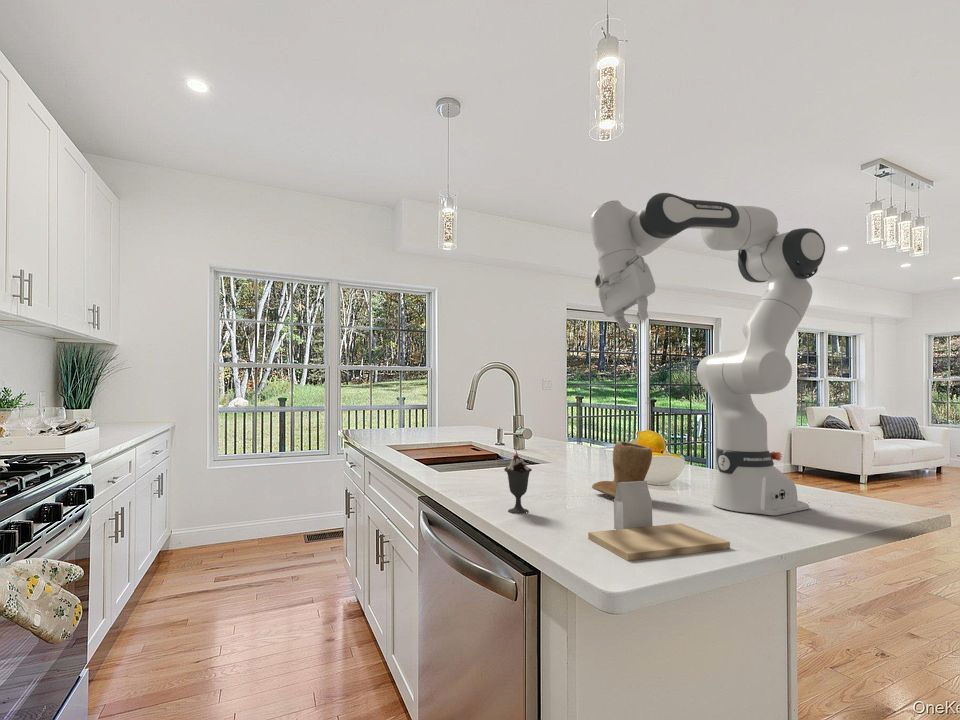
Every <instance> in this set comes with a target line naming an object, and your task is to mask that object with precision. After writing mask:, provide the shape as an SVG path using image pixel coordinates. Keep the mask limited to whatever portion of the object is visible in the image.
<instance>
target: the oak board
mask: <svg viewBox="0 0 960 720" xmlns="http://www.w3.org/2000/svg"><path fill="white" fill-rule="evenodd" d="M587 534H588V537H587V538H588V539H589V540H590V541H592V542H594V543H595V544H597V545H599V546H601V547H603V549H607V550H608V551H610V552H611V553H612V554H615V555H617V556H618V557H620V558H622V559H624V560H626V561H628V562H630V560H631V561H637V560H646V559H655V558H662V557H663V558H664V557H671V556H679V555H687V554H688V555H689V554H695V553H704V552H712V551H721V550H720V549H722V550H728V549H727V548H730V549H731V542H730V541H729V540H725V538H724V539H723V538H721V537H718V536H716V535H713V534H710V533H708V532H705V531H702V530H700V529H698V528H694V527H692V526H689V525H687V524H685V523H684V524H683V523H682V522H680V523H679V522H678V523H670V524H661V525H660V524H659V525H658V524H657V525H652V526H648V527H638V528H628V529H618V530H615V529H608V530H599V531H598V530H597V531H590V532H588V533H587Z"/></svg>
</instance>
